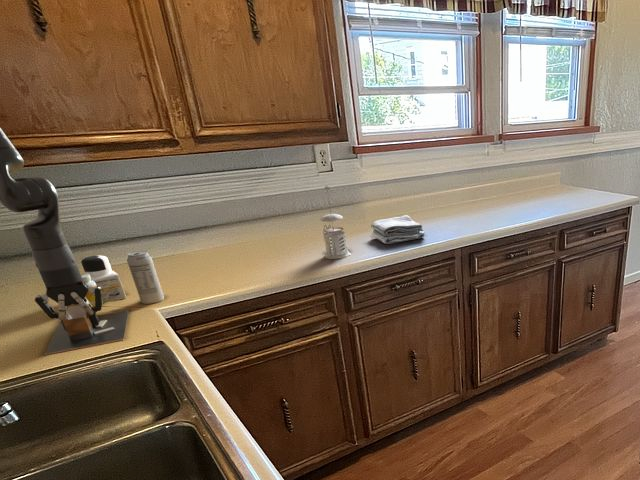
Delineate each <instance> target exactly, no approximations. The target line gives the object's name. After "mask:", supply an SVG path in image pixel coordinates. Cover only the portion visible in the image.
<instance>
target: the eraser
mask: <svg viewBox="0 0 640 480" xmlns="http://www.w3.org/2000/svg"><path fill="white" fill-rule="evenodd" d="M88 315H89V314H88V313H87V312H86V310H85V309H84V308H82V307H81V306H80V304H77V305H70V306H68V307H67V309H66V314H65V316H64V318H63V324H64V326H65V328H66V331H67V333H68V335H69V338H70V340H71V341H75V340H81V339H86V338H91V337H93V334H94V333H93V332H94V331H95V328H93V326H92V324H91V321H90V319H89V316H88Z"/></svg>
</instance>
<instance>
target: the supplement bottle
mask: <svg viewBox="0 0 640 480" xmlns="http://www.w3.org/2000/svg"><path fill="white" fill-rule="evenodd" d="M80 274H81V276H82V279H83V281H84V283H85V284H86V285H87V286H88V287H96V286H97V285H96V283H95V282H94V281H91V277H90V275H89V274H85V273H80ZM85 298H86V299H87V300H88V301H89V303H90V304H91V305H92V306H93V307H94V306H95V296H93V295H92V294H91V292H90V291H88V292H87V294H86V296H85ZM102 305H104V302H103V301H102Z"/></svg>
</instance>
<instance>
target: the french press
mask: <svg viewBox="0 0 640 480" xmlns="http://www.w3.org/2000/svg"><path fill="white" fill-rule="evenodd" d="M324 190H325V191H326V192H327V193H329V190H331V188H330V186H328V185H326V186H324ZM327 199H328V205H329V206H331V204H330V195H329V194H327ZM329 211H330V213H327V214H325V215H323V216H321V218H320V221H321V222H325V223H330V222H331V223H332V226H331V224H328V227H327V226H326V225H323V231H322V235H323V240H324V246H325V252H326V253H325V255H323V257H324V258H325V259H331V260H337V259H344V258H347V257H350V256H351V253H350V251H348V246H347V239H346V232H345V231H344V228H343V227H342V226H334V222H338V221H341V220H344V219H343V218H344V216H342V215H340V214H338V213H333V212H332V208H331V207H329ZM349 255H350V256H349Z"/></svg>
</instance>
